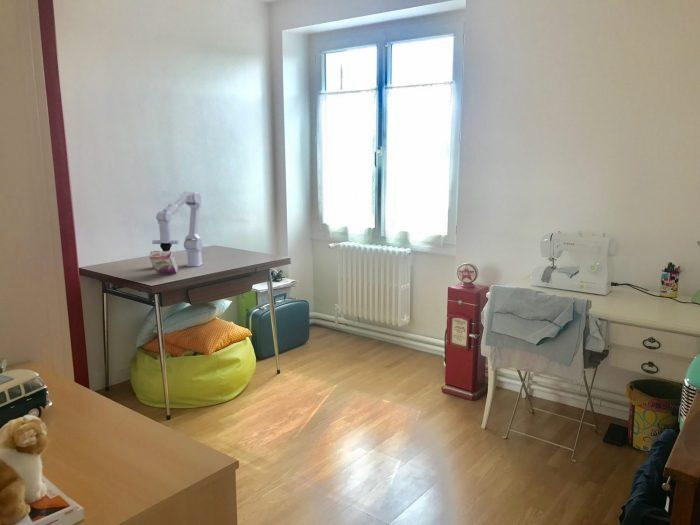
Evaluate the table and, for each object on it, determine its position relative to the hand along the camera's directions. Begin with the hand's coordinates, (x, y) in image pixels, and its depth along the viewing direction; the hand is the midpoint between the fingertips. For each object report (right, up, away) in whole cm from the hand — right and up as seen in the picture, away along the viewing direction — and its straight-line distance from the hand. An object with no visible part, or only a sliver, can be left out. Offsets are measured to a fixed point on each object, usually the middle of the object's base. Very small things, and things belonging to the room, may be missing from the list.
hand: (166, 256), depth 315 cm
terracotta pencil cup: (-10, -6, +17) cm, 21 cm away
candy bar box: (0, -8, +2) cm, 8 cm away
